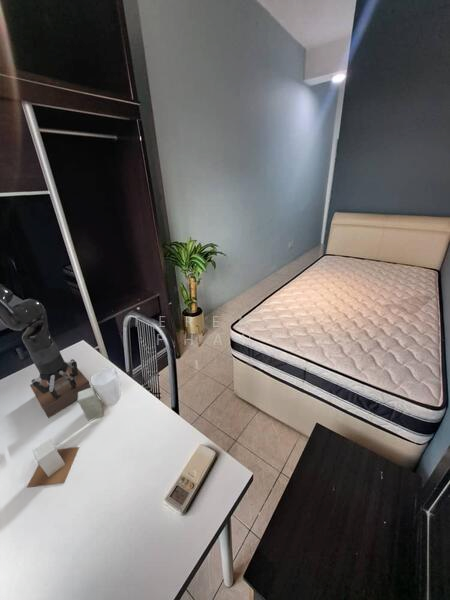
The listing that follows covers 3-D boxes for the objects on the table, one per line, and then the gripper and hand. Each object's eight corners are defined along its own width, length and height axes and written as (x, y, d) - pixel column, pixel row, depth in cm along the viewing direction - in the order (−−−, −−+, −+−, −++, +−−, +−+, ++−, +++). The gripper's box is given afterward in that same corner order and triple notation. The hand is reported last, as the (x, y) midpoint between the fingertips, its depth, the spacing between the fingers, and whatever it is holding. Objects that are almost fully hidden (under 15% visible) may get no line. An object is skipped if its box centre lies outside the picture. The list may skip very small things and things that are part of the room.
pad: (27, 487, 69) (26, 486, 69) (46, 451, 78) (46, 450, 78) (64, 482, 70) (63, 482, 69) (79, 447, 78) (78, 446, 78)
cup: (101, 393, 97) (92, 370, 91) (125, 387, 99) (117, 364, 94) (98, 412, 90) (88, 388, 84) (124, 404, 92) (116, 381, 86)
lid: (89, 382, 95) (85, 372, 92) (43, 410, 85) (37, 399, 82) (73, 363, 105) (69, 354, 102) (30, 386, 95) (24, 376, 92)
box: (103, 407, 91) (94, 385, 86) (104, 416, 88) (94, 394, 83) (87, 413, 89) (77, 391, 84) (87, 422, 86) (77, 401, 81)
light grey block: (65, 464, 74) (55, 448, 70) (48, 477, 71) (37, 461, 67) (60, 454, 76) (50, 438, 72) (43, 466, 73) (32, 450, 70)
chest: (93, 392, 98) (88, 381, 95) (49, 419, 88) (42, 408, 85) (78, 374, 107) (73, 364, 105) (36, 396, 97) (30, 386, 95)
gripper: (65, 341, 89) (81, 375, 97) (18, 362, 80) (39, 398, 88) (73, 349, 85) (89, 384, 93) (24, 373, 76) (46, 410, 84)
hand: (65, 391), depth 90 cm, fingers closed on lid, 5 cm apart
